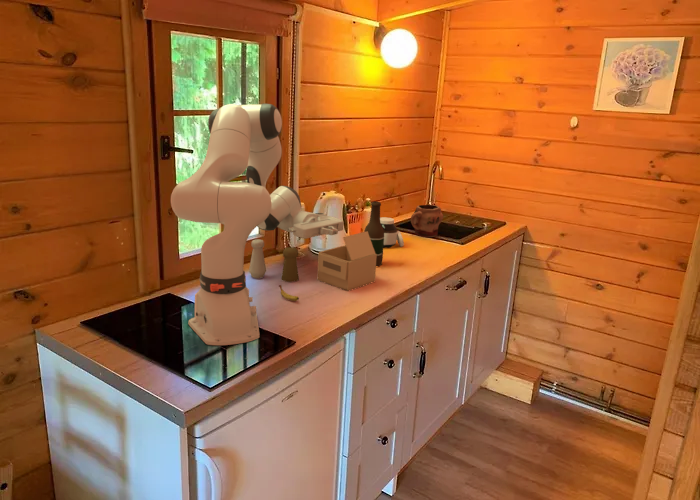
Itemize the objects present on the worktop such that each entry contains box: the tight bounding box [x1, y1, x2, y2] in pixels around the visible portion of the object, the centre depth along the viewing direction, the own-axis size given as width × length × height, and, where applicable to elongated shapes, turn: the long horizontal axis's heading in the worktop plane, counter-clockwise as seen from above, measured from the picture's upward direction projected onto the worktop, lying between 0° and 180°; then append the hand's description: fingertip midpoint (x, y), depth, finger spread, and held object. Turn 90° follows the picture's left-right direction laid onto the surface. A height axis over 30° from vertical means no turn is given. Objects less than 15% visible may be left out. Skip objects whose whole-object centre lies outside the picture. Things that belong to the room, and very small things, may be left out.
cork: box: [280, 246, 300, 283], centre depth 187 cm, size 6×6×11 cm
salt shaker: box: [248, 238, 267, 280], centre depth 187 cm, size 6×6×13 cm
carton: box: [317, 245, 377, 292], centre depth 188 cm, size 15×15×10 cm
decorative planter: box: [410, 204, 444, 238], centre depth 251 cm, size 20×12×14 cm, turn 137°
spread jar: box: [380, 216, 405, 249], centre depth 233 cm, size 12×11×12 cm
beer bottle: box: [363, 200, 384, 267], centre depth 206 cm, size 8×8×24 cm
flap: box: [342, 231, 375, 261], centre depth 182 cm, size 8×12×1 cm
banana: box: [278, 284, 300, 302], centre depth 170 cm, size 8×2×4 cm, turn 54°
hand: (335, 232), depth 188 cm, fingers closed
